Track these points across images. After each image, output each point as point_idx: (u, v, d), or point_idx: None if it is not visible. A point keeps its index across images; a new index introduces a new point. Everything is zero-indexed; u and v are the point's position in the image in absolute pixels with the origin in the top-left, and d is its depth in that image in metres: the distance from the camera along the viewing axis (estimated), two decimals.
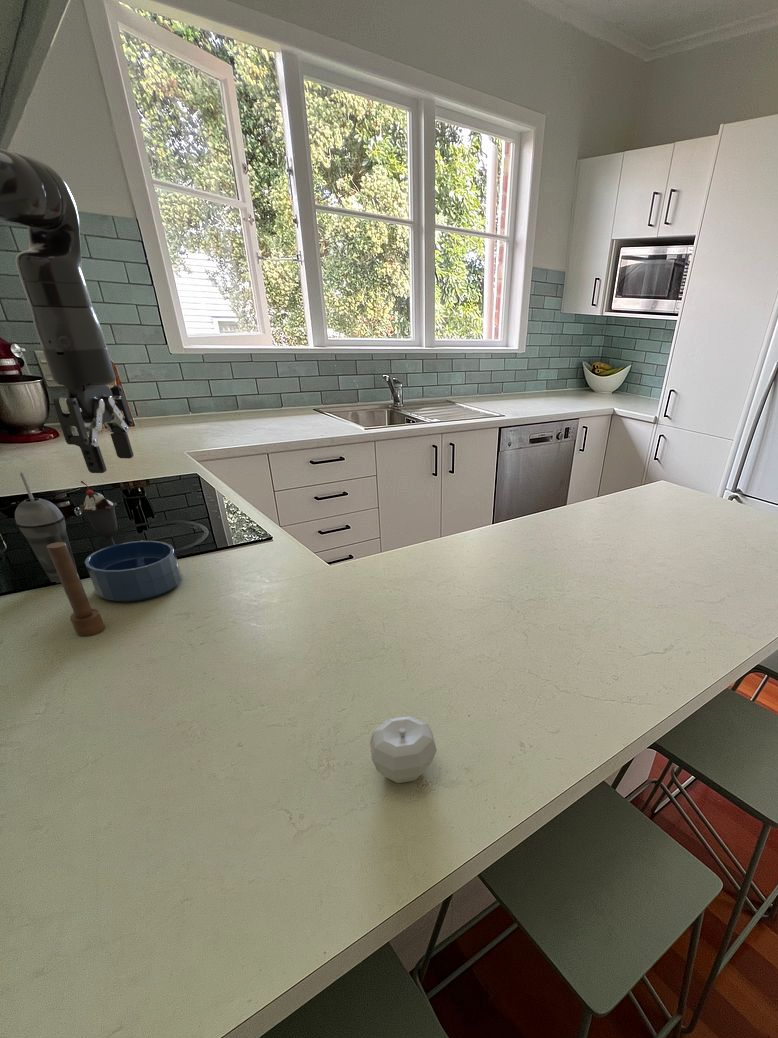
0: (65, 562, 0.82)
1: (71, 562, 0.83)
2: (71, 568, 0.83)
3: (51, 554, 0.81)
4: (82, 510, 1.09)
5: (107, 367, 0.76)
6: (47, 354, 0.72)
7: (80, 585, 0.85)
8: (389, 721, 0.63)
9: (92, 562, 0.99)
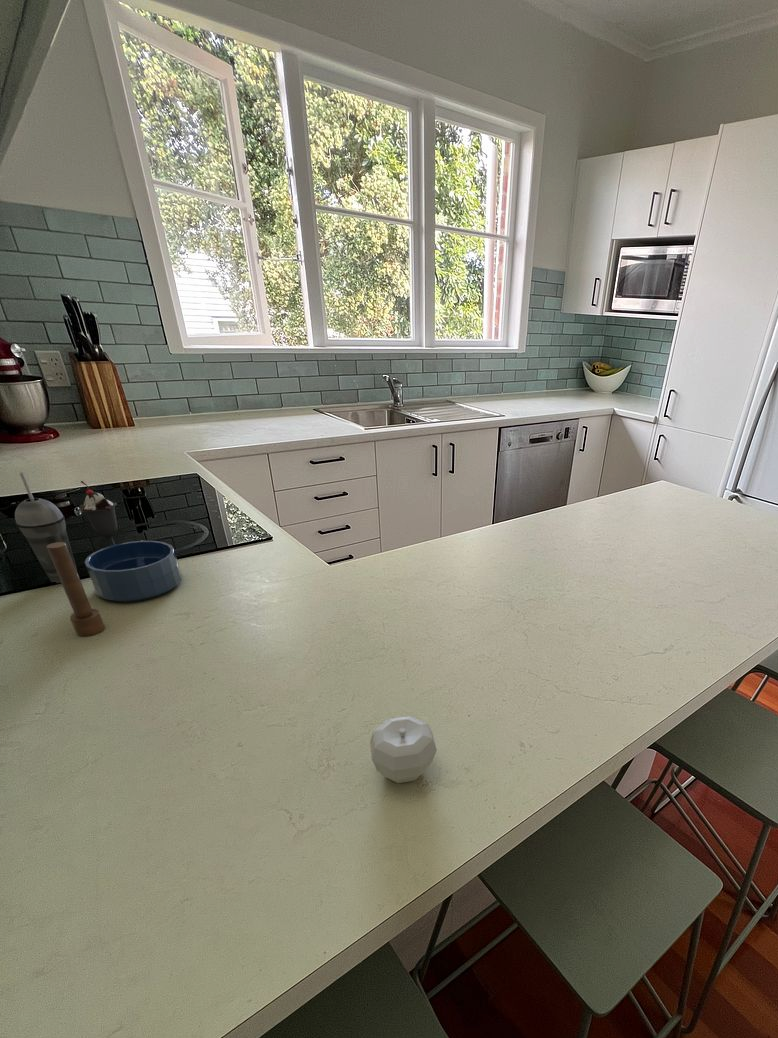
0: (65, 562, 0.82)
1: (71, 562, 0.83)
2: (71, 568, 0.83)
3: (51, 554, 0.81)
4: (82, 510, 1.09)
5: None
6: None
7: (80, 585, 0.85)
8: (389, 721, 0.63)
9: (92, 562, 0.99)
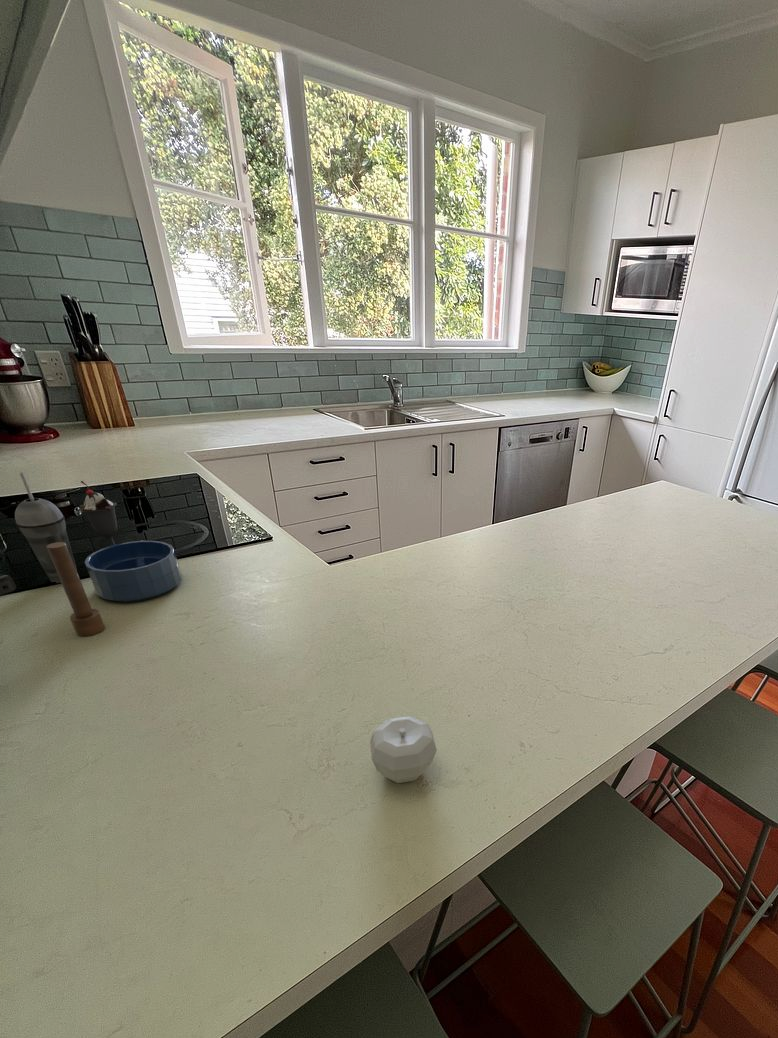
0: (65, 562, 0.82)
1: (71, 562, 0.83)
2: (71, 568, 0.83)
3: (51, 554, 0.81)
4: (82, 510, 1.09)
5: None
6: None
7: (80, 585, 0.85)
8: (389, 721, 0.63)
9: (92, 562, 0.99)
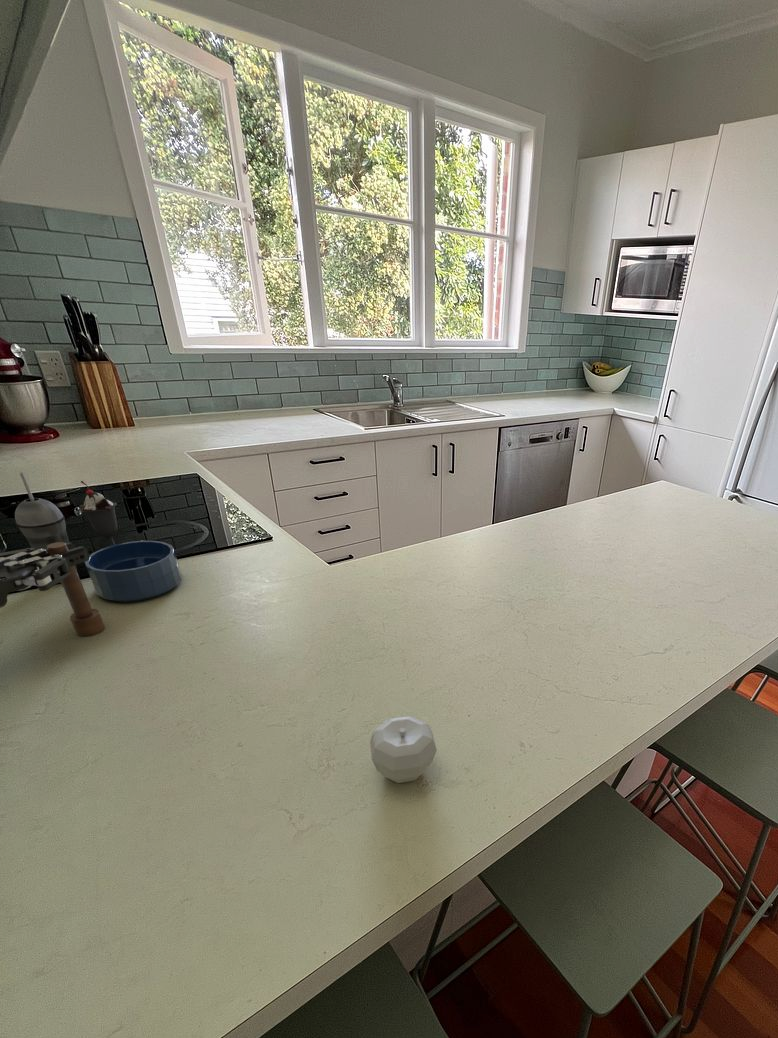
0: None
1: None
2: (71, 568, 0.83)
3: (51, 554, 0.81)
4: (82, 510, 1.09)
5: None
6: None
7: (80, 585, 0.85)
8: (389, 721, 0.63)
9: (92, 562, 0.99)
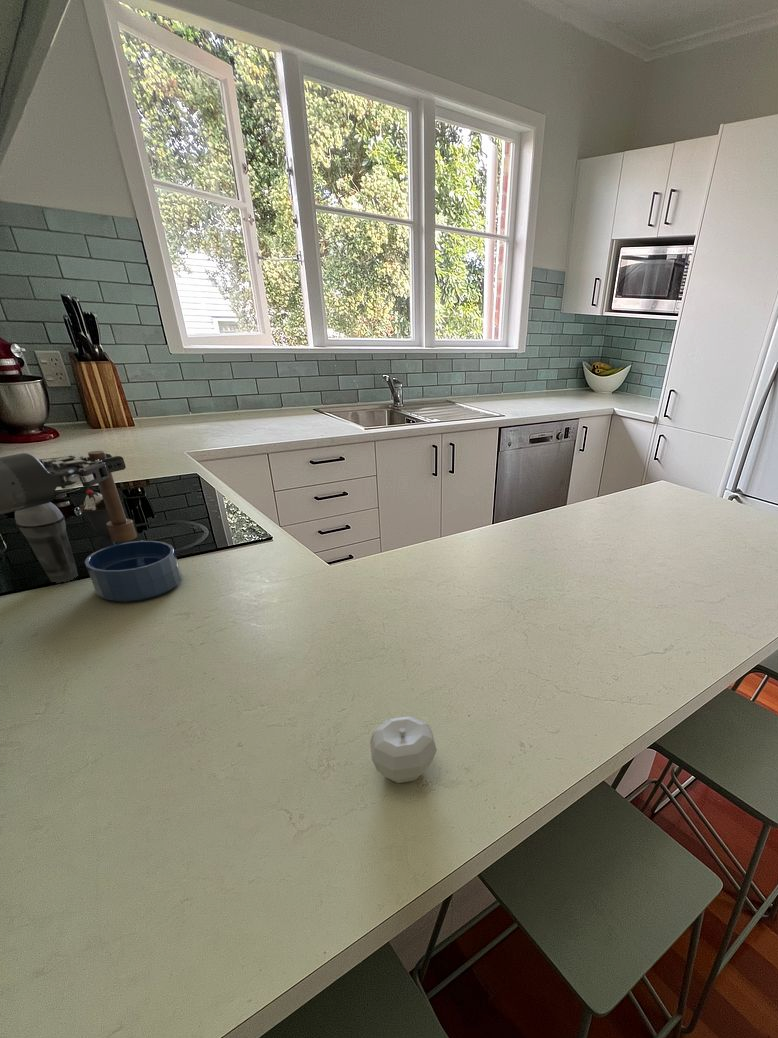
0: None
1: None
2: (109, 475, 0.91)
3: None
4: (82, 510, 1.09)
5: None
6: None
7: (116, 492, 0.93)
8: (389, 721, 0.63)
9: (92, 562, 0.99)
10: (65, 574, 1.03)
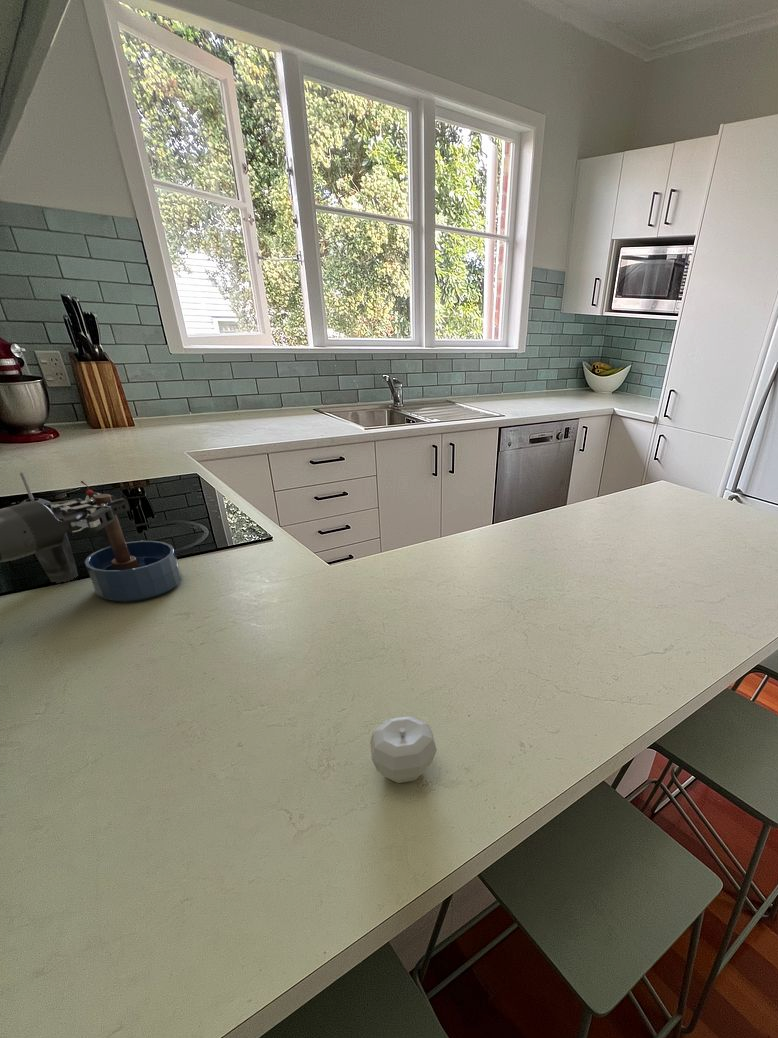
0: None
1: None
2: (114, 517, 0.96)
3: (98, 503, 0.94)
4: None
5: None
6: None
7: (121, 532, 0.98)
8: (389, 721, 0.63)
9: (92, 562, 0.99)
10: (65, 574, 1.03)
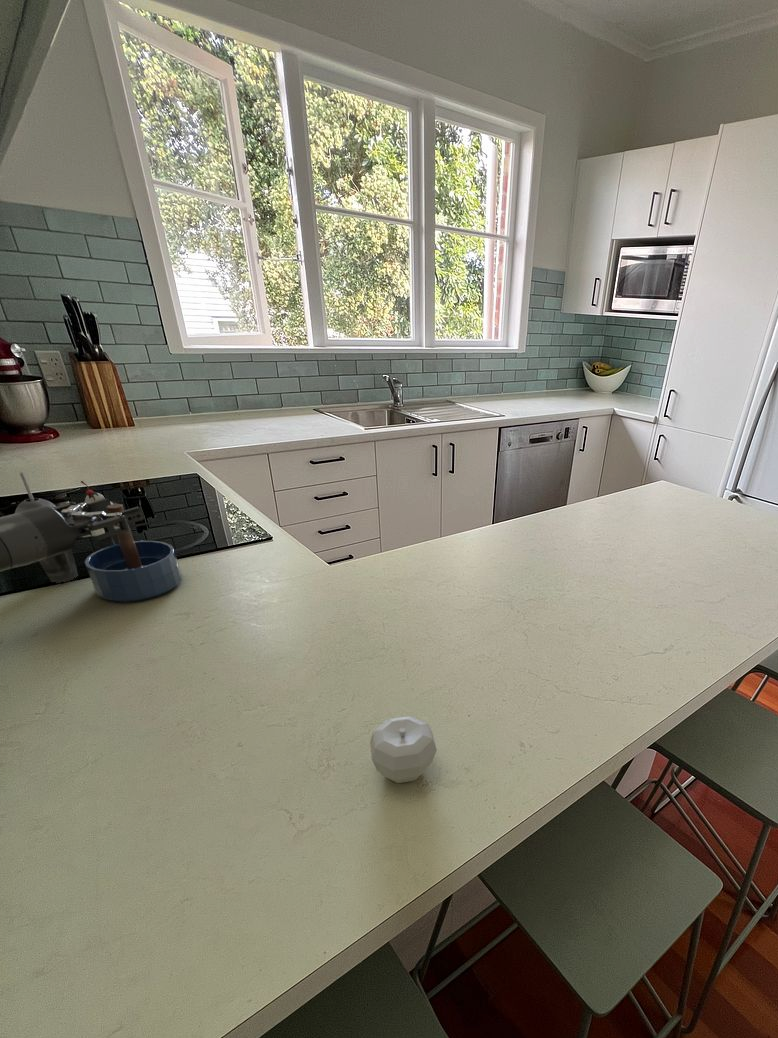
0: None
1: None
2: None
3: None
4: None
5: None
6: None
7: (133, 542, 0.98)
8: (389, 721, 0.63)
9: (92, 562, 0.99)
10: (65, 574, 1.03)
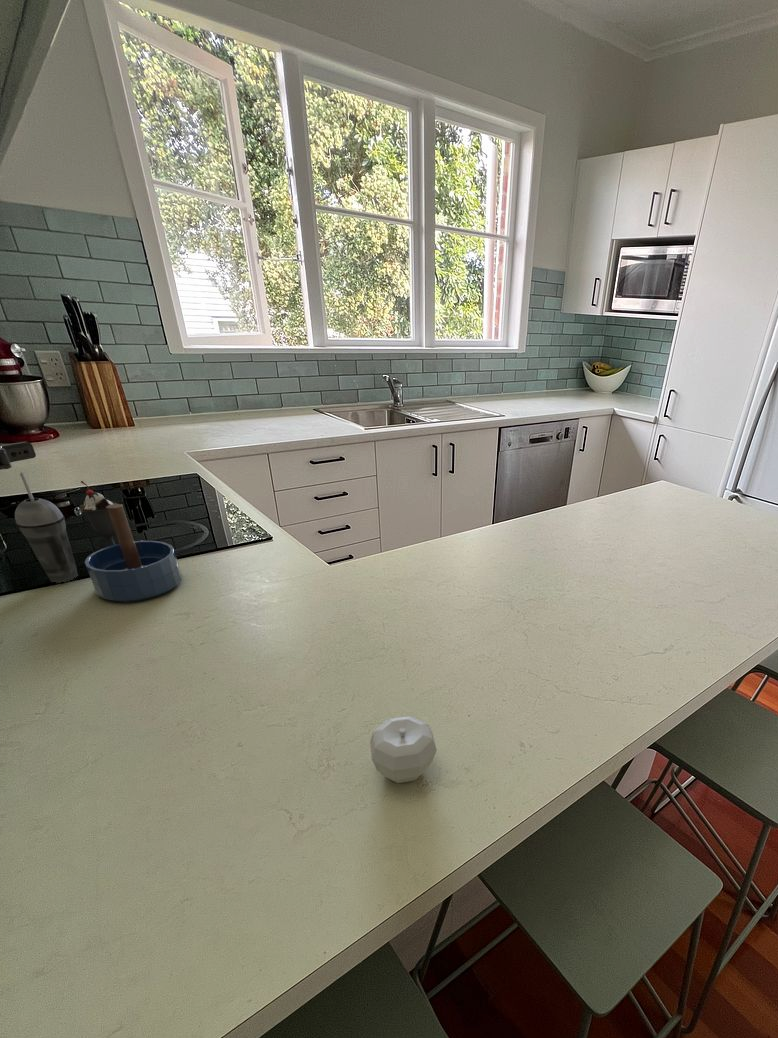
0: (122, 521, 0.95)
1: (126, 521, 0.96)
2: (126, 526, 0.96)
3: (110, 514, 0.94)
4: (82, 510, 1.09)
5: None
6: None
7: (133, 542, 0.98)
8: (389, 721, 0.63)
9: (92, 562, 0.99)
10: (65, 574, 1.03)
